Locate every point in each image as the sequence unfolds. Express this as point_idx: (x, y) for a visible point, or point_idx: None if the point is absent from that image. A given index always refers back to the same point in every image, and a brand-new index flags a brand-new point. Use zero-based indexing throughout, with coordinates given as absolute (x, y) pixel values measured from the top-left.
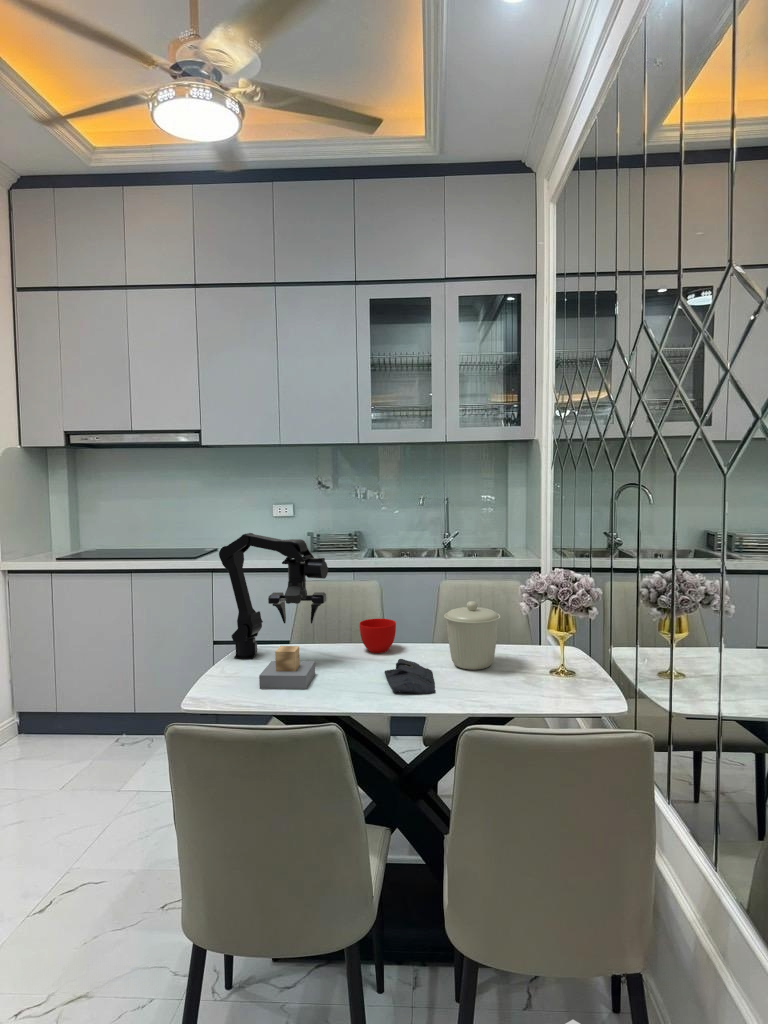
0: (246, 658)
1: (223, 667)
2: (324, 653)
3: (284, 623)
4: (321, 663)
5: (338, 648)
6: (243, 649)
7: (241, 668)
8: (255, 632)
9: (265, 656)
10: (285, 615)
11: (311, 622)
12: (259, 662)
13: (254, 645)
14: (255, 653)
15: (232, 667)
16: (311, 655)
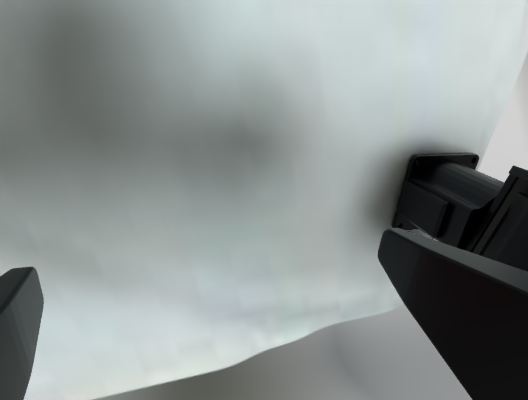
0: (433, 154)
1: (523, 28)
2: (73, 272)
3: (389, 229)
4: (12, 84)
5: None
6: (474, 173)
7: (458, 3)
8: (493, 238)
9: (358, 196)
10: (432, 325)
11: (13, 273)
12: (380, 106)
13: (440, 200)
14: (408, 189)
15: (491, 25)
16: (140, 233)
